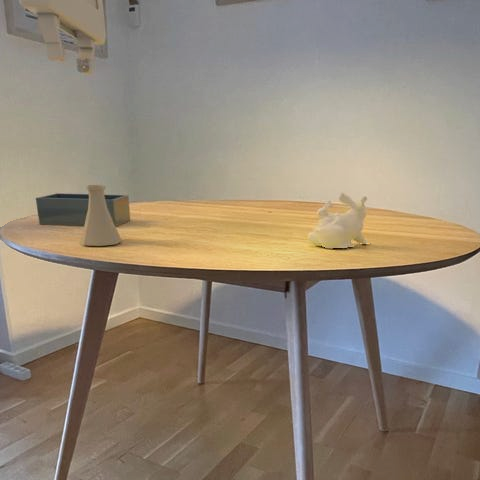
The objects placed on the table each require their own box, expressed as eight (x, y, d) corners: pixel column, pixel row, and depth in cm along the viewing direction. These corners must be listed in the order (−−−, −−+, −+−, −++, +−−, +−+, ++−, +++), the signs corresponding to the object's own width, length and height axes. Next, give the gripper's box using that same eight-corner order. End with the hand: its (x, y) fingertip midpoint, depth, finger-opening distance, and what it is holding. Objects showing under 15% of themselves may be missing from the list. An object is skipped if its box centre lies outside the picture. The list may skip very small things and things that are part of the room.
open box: (39, 224, 101) (35, 197, 99) (59, 217, 110) (56, 193, 108) (115, 227, 99) (113, 200, 97) (130, 220, 108) (128, 195, 106)
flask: (78, 248, 80) (71, 187, 77) (82, 239, 87) (76, 183, 83) (121, 246, 82) (116, 187, 78) (122, 238, 88) (117, 183, 85)
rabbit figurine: (370, 243, 87) (376, 189, 83) (381, 253, 79) (388, 194, 76) (305, 242, 87) (309, 188, 83) (310, 251, 80) (314, 193, 76)
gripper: (71, -24, 69) (79, 79, 74) (-9, -96, 50) (9, 50, 54) (112, -25, 69) (119, 80, 73) (48, -97, 49) (62, 50, 54)
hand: (71, 67), depth 64 cm, fingers open, 8 cm apart
